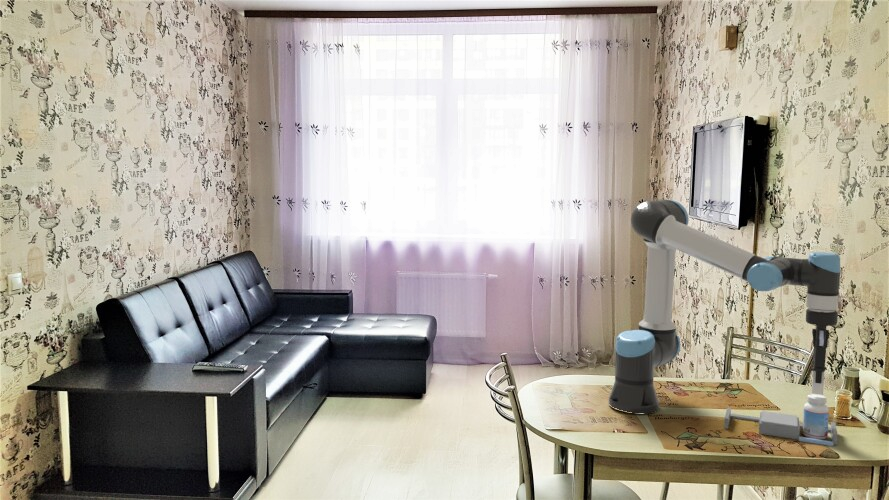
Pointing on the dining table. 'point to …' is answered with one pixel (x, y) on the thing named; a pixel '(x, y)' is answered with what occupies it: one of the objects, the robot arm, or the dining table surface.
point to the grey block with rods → (782, 426)
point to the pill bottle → (816, 417)
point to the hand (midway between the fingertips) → (817, 393)
